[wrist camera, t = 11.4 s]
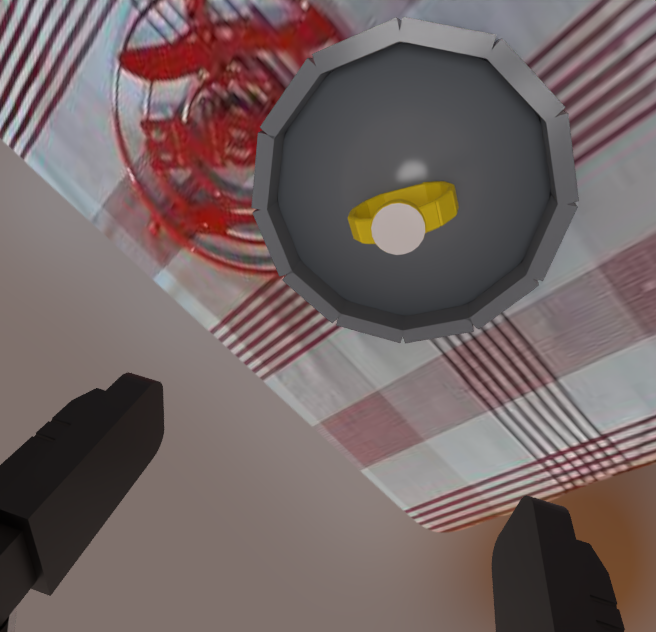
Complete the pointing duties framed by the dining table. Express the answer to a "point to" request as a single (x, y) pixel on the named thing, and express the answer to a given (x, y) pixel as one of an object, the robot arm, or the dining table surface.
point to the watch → (403, 216)
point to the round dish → (415, 178)
